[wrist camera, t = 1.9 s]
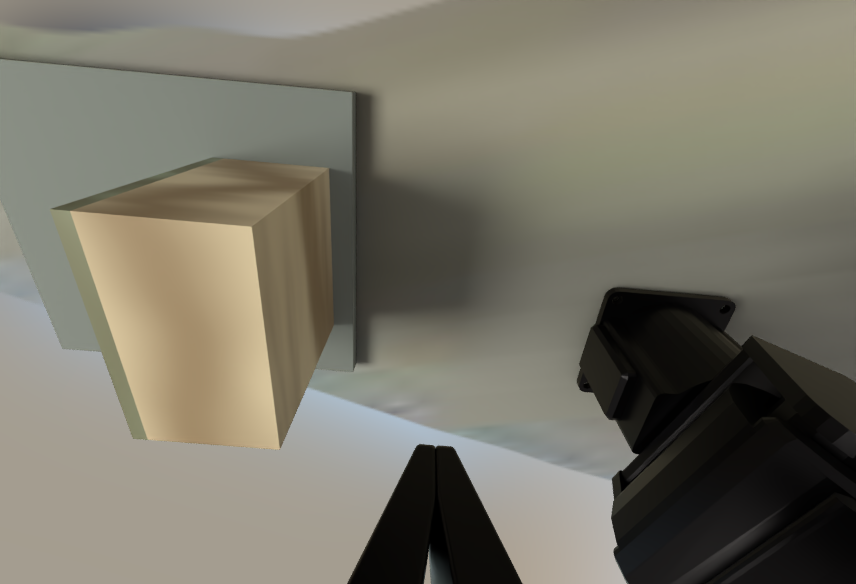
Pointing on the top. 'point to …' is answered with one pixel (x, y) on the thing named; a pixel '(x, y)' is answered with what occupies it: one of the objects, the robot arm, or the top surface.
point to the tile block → (207, 295)
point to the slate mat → (161, 162)
